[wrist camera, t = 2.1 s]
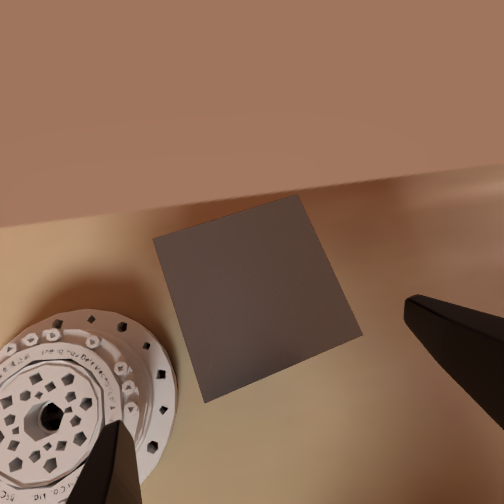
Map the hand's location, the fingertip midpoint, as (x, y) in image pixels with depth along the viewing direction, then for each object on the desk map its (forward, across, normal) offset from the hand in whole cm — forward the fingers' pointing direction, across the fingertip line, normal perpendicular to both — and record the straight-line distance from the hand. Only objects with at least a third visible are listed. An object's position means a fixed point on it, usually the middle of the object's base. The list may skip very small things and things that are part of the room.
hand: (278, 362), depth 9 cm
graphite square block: (+8, 0, +6) cm, 10 cm away
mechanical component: (+8, +9, +7) cm, 14 cm away
